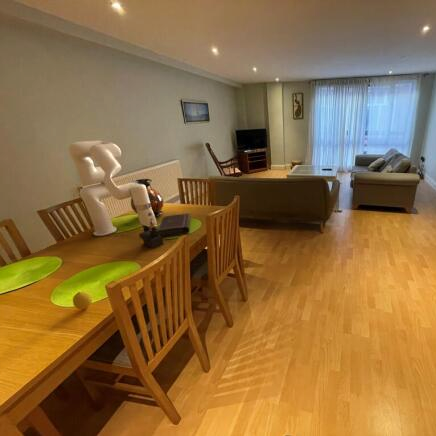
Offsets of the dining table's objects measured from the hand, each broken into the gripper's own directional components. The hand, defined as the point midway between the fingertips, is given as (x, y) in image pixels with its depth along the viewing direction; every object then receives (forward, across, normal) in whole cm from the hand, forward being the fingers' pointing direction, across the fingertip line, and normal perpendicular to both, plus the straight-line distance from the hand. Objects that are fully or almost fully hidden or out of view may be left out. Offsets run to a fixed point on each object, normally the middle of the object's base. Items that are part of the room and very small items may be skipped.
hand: (151, 234), depth 141 cm
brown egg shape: (+6, -29, +44) cm, 53 cm away
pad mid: (+4, 0, 0) cm, 4 cm away
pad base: (+6, 0, 0) cm, 6 cm away
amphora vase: (+6, +47, -25) cm, 54 cm away
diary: (+6, +10, -21) cm, 24 cm away
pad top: (+1, 0, 0) cm, 1 cm away
